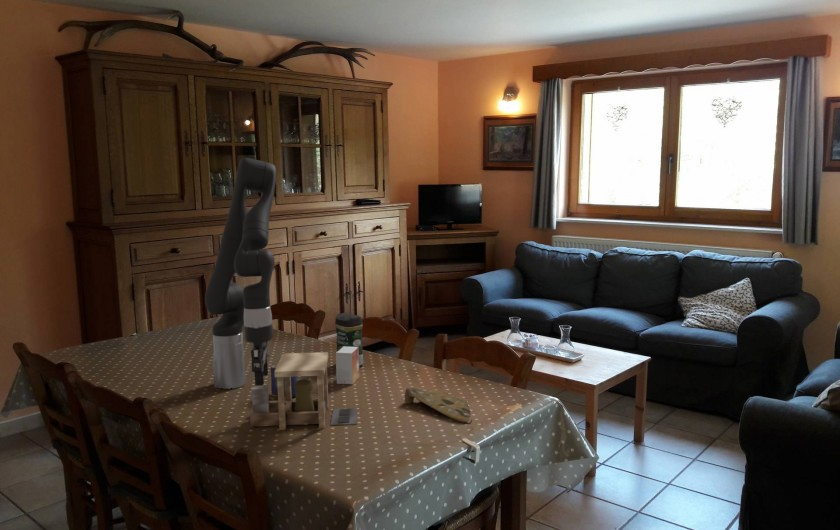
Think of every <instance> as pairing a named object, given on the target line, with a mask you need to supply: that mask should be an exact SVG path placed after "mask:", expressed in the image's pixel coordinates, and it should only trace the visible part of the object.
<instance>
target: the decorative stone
mask: <svg viewBox="0 0 840 530" xmlns="http://www.w3.org/2000/svg"><path fill="white" fill-rule="evenodd" d="M415 399H416V400H418V401H419V402H421V403H423V404H425V405H426V406H429V407H430V408H431V409H434V410H435V411H437V412H439V413H441V414H443V415H445V416H446V417H448V418H450V419H452V420H455V421H458V422H460V421H462V422H461V423H463V422H468V421H470V417H471V416H470V415H471V413H470V412H471V411H470V408H471V407H470V408H469V406H470V405H469V406H468V403H467V400H468V399H465V398H463V397H459V396H457V395H453V394H451V393H447V392H445V391H440V390H437V389H429V390H425V389H424V390H423V389H418V388H414V387H411V386H409V387H407V388H406V390H405V393H404V403H405V404H406V403H409V404H412V403H414V400H415ZM411 402H412V403H411Z"/></svg>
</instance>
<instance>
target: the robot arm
mask: <svg viewBox="0 0 840 530" xmlns="http://www.w3.org/2000/svg"><path fill="white" fill-rule="evenodd" d="M236 170H237V171H236V173H235V174H236V175H235V179H234V184H233V185H234V186H233V191H232V196H231V202H230V206H229V211H228V214H227V218H226V221H225V225H224V228H223V232H222V237H221V240H220V245H219V251H218V254H217V257H216V262H215V265H214V269H213V270H212V274H211V276H210V280H209V282H208V285H207V287H206V290H205V295H204V306H205V308H206V310H207V311H208V313H210V314H211V315H216V316H218V315H221V317H220V318H219V320H218V321H217V322H215V323H214V324H213V325H212V328H211V329H212V342H213V343H212V344H213V358H212V373H213V374H212V375H213V386H214V389H217V388H218V389H221V388H223V389H222V390H228V389H229V390H231V388H232V389H237V388H241V387H242V386H245V384H246V370H245V353H244V352H245V350H244V340H245V342H247V343H251V344H253V346H252V348H251V350H250V355H251V372H252V373H254V384H255V385H254V386H264V384H265V382H264V380H265V378H264V377H267V376H268V375H269V366H268V362H269V358H270V355H269V341H272V340H273V338H274V331H273V329H274V328H273V315H272V314H273V313H272V309H271V298H270V296H271V294H270V293H271V292H270V290H271V289H270V287H271V279H272V277H273V275H272V274H273V271H274V267H275V257H274V255H273V253H272V252H271V251H270V250H268V249H267V250H266V249H265V248H266V247H267V246H268V243H269V232H270V231H269V228H270V227H269V226H270V215H271V210H272V206H273V205H272V204H273V201H274V199H273V198H274V194H275V189H276V188H275V187H276V183H277V168H276V166H275V165H274V164H273V163H270V162H268V161H267V162H266V161H264V160H258V159H254V158H250V157H243V158H242V159H241V160H240V161H239V163H238V166H237V169H236ZM246 190H247V191H252V192H256V193H261V198H260V199H259V200H258V202H257V203H256V204H254V206H252V207H251V208H250V210H248V207H247V204H246V199H245V192H246ZM235 274H236V275H238V276H239V277H241V278H248V277H249V278H250V277H261V279H260V280H259V281H258V282H256V283H252V284H248V285H247V286H244V287H243V289H242V287H241V286H240V285H239V284H238V283H236V282H232V280H233V277H234V276H235ZM243 329H244V330H243ZM243 331H244V336H243ZM257 365H258V366H257Z"/></svg>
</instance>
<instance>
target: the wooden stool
mask: <svg viewBox="0 0 840 530" xmlns="http://www.w3.org/2000/svg"><path fill="white" fill-rule="evenodd" d="M328 361H329V351H323V352H296V353H295V352H293V353H290V352H289V353H282V355H281V357H280V359H279V361H278V363H277V364H278V365H277V364H276V365H277V367H276V369H275V372H274V373H275V377H277V386H278V396H277V401H278V407H279V425H278V426H279V431H285V430H286V428H287V425H286V418H285V400H293V399H292V398H293V397H291V377H293V376H299V377H316V381H317V383H316V384H317V399H318V414H319V424H318V429H325V428H326V418H325V417H326V412H325V411H324V399H326V410H329V392H328V390H329V387H328V365H327V364H328ZM284 377H285V396H286V397H285V396H284ZM331 413H332V415H331V419H330V420H331V421H330V426H348V425H351V426H352V425H357V423H358V407H351V408H350V407H348V408H347V407H346V408H333V409H332V412H331Z"/></svg>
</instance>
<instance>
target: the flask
mask: <svg viewBox="0 0 840 530" xmlns="http://www.w3.org/2000/svg"><path fill="white" fill-rule="evenodd" d="M277 365H278V363H277V364H276V365H271V366H270V379H271V380H270V382H271V383H270V385H271V388H270V389H271V396H273V395H276V396H275V397H278V386H277V377H275V373H274V372H275V369H276V367H277ZM299 377H300V376H293V377H291V397H292V398H296V392H295V389H294V385H295V383H296V382H297V381H298V380H300V378H299ZM284 396H285V377H284ZM285 398H286V396H285Z"/></svg>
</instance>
